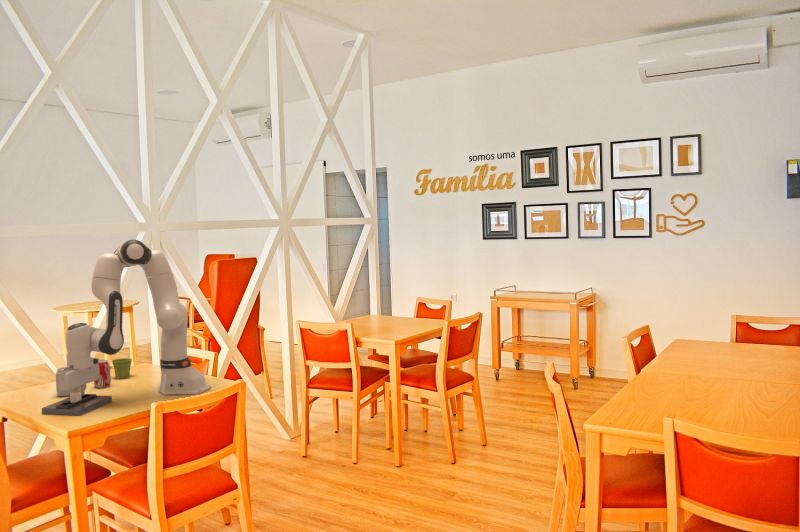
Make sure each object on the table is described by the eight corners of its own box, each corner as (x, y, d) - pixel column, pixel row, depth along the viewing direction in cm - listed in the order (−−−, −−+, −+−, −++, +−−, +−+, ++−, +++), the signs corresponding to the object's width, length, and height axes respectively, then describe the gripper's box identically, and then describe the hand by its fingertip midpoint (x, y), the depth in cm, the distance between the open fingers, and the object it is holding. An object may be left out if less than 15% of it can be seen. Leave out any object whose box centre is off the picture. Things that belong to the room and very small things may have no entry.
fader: (81, 401, 260) (81, 391, 260) (77, 402, 258) (76, 392, 258) (74, 400, 261) (74, 390, 261) (70, 402, 258) (69, 392, 258)
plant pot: (119, 374, 318) (118, 357, 317) (136, 375, 316) (136, 358, 316) (108, 379, 308) (107, 361, 308) (126, 379, 307) (125, 362, 307)
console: (112, 401, 269) (111, 390, 269) (79, 415, 249) (79, 404, 249) (76, 400, 272) (76, 389, 272) (41, 414, 253) (41, 402, 252)
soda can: (104, 389, 290) (103, 363, 289) (90, 388, 292) (89, 362, 291) (114, 385, 297) (113, 359, 296) (100, 384, 299) (99, 359, 298)
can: (52, 396, 279) (51, 369, 278) (67, 392, 286) (65, 365, 285) (65, 397, 276) (64, 370, 275) (79, 393, 283) (78, 366, 282)
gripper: (67, 369, 251) (69, 403, 252) (101, 358, 271) (103, 390, 272) (53, 368, 252) (55, 402, 253) (88, 357, 272) (90, 389, 273)
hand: (80, 396), depth 263 cm, fingers closed
